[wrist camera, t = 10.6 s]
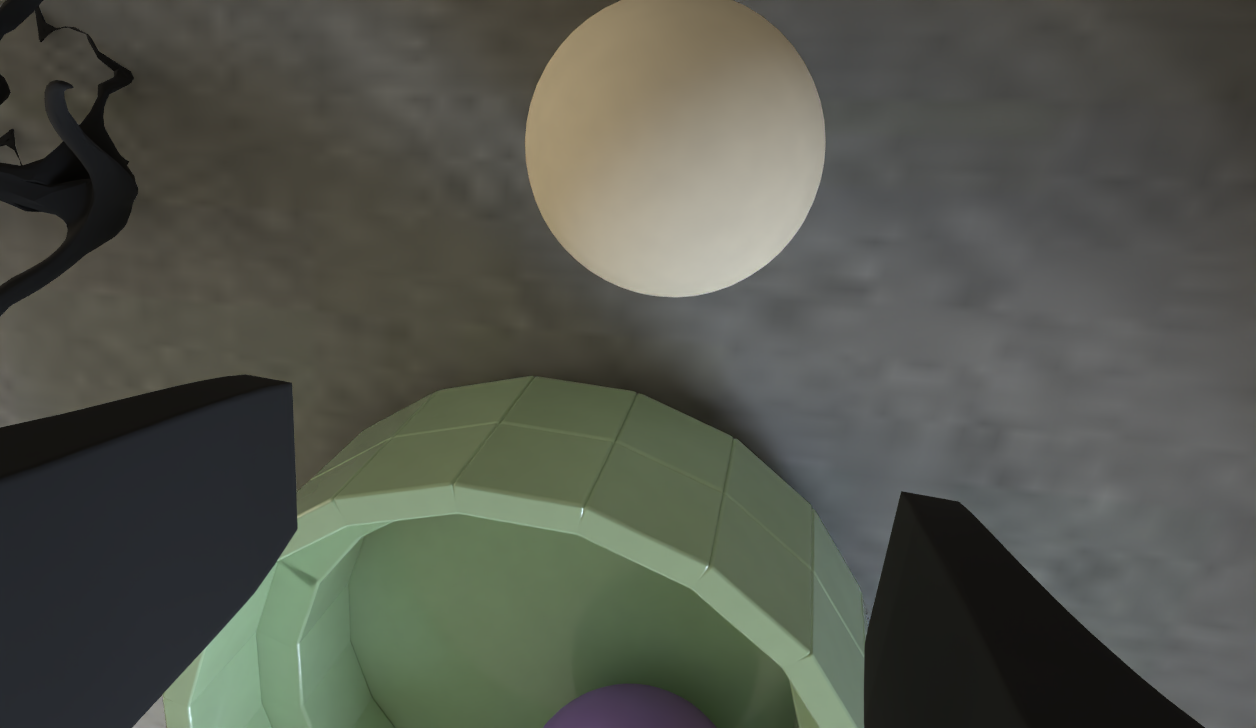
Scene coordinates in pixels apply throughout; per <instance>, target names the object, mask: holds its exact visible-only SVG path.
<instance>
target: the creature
mask: <svg viewBox="0 0 1256 728" xmlns="http://www.w3.org/2000/svg"><path fill="white" fill-rule="evenodd" d="M42 1H43V0H6V1H5V2H4V3H3V5H2V6H1V7H0V40H1V39H2V37H3V36H4V35H5V34H6V33H8V32H10V31H12V30H14V29H15V28H16V27H17V26H19V25H20V24H21V23H22V22H23V21H24V20H25V19H26V18H27V17H28V16H29V15H30V14H32V13H33V12H34V10H35V14H36V20H37V26H38V33H39V40H40V42H42V41H43V40H44V39H45V38H46V37H47V35H49V34H50V33H51V32H53V31H55V30H58V29H61V28H71V29H73V30H76V31H79V32H81V33H84V32H82V31H80V30H79V29H77V28H75V27H61V28H54V27H53V26H51V25H49V24H47V23H46V22H45V20H44V17H43V15H42V13H41V10H40V8H39V5H40V3H41V2H42ZM84 34H86V33H84ZM86 35H87V38H88V41H89V43H90V44H91V46H92V48H93V50H94V52H95V53H96V55H97V57H98V59H100V60H101V61H102V62H103V63H104V64H106V65H107V66H108V67H109V68H111V69H112V70H113V71H114V77H113V78H111V79H109V80H107V81H105V82H103V83H101V84H99V85H98V97H97V99H96V101H95V103H94V105H93V107H92V109H91V111H90V113H89V114H88V115H87V117H86V118H85V119H84V120H83V122H82V123H81V124H80V125H78V124H77V122H76V121H75V120H74V118H73V117H72V116H71V114H70V113H69V111H68V109H67V105H66V102H65V98H64V91H65V90H66V89H69V88H74V87H73V86H72V85H71V84H69V83H67V82H64V81H60V80H55V81H52V82H50V83H49V84H48V85H47V86H46V89H45V108H46V112H47V115H48V118H49V120H50V122H51V124H52V125H53V127H54V129H55V130H56V132H57V133H58V135H59V136H60V137H61V139H62V140H63V142H62V143H61V144H60V145H59V146H58V147H57V148H56V149H55V150H53V151H52V152H51V153H50V154H49V155H48V156H46V157H45V158H44V159H41V160H38V161H35V162H32V163H29V164H26V165H23V166H22V164H21V162H20V164H21V166H18V165H12V164H6V163H0V200H1V201H3V202H6V203H8V204H10V205H13V206H15V207H17V208H20V209H22V210H24V211H31V212H46V213H50V214H55V215H57V216H58V217H60V218H61V219H63V220H64V221H65V223H66V224H67V228H68V232H67V237H66V239H65V241H64V242H63V243H62V245H61V246H60V247H59V248H58V249H57V250H56V251H55V252H54V253H53V254H52V255H50V256H49V257H48V258H47V259H45V260H44V261H42V262H41V263H39V264H37V265H36V266H34V267H32V268H30V269H28V270H26V271H25V272H23V273H21V274H19V275H17V276H15V277H13V278H11V279H10V280H8V281H7V282H5V283H4V284H2V285H1V286H0V316H1V315H2V314H3V313H4V312H5V311H6V310H7V309H8V308H9V307H10V306H11V305H13V304H15V303H16V302H18V301H20V300H22V299H23V298H25V297H27V296H29V295H30V294H32V293H34V292H36V291H38V290H39V289H41V288H42V287H44V286H45V285H47V284H48V283H50V282H51V281H53V280H54V279H56V278H57V277H58V276H60V275H61V274H62V273H64V272H65V271H66V270H67V269H69V268H70V267H71V266H73V265H74V264H75V263H76V262H77V261H79V260H80V259H81V258H82V257H83V256H85V255H86V254H87V253H89V252H91V251H92V250H94V249H96V248H97V247H99V246H101V245H102V244H104V243H105V242H107V241H109V240H110V239H112V238H113V237H115V236H116V235H117V234H118V233H119V232H120V231H121V230H122V229H123V228H124V227H125V225H126V223H127V221H128V218H129V215H130V213H131V209H132V204H133V202H134V200H135V198H136V196H137V194H138V187H137V184H136V182H135V178H134V175H133V174H132V172H131V171H130V169H129V168H128V167H127V164H128V162H129V161H127V160H125V159H124V158H123V157H122V156H121V155H120V154H119V152H118V151H117V149H116V147H115V145H114V144H113V142H112V140H111V138H110V137H109V135H108V133H107V131H106V129H105V127H104V120H103V113H104V106H105V103H106V100H107V98H108V96H109V94H111V93H113V92H115V91H117V90H119V89H121V88H123V87H125V86H127V85H129V84H130V83H131V82H132V80H133V79H134V78H133V75H132V73H131V71H129V70H128V69H126V68H124V67H123V66H121V65H120V64H118V63H116V62H115V61H113V60H112V59H110V58H108V57H107V56H105V55H104V54H102V53H101V52H99V51H98V49H97V47H96V46H95V44H94V42H93V40H92V39H91V37H90V36H89V35H88V34H86ZM10 93H11V92H10V89H9V86H8V84H7V82H6V80H5V78H4V77H3V76H2V75H0V105H1V104H2V103H3V102H4V101H5V100H6V99H7V98H8V97H9V95H10ZM3 145H7V146H9V147H10V148H12V149H13V150H15V152H16V154H17V156H18V152H17V149H16V146H15V137H14V129H11V130H9V132H7V133H6V134H5V135H3V136H2V137H1V138H0V146H3ZM18 158H19V156H18ZM19 160H20V159H19Z"/></svg>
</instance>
